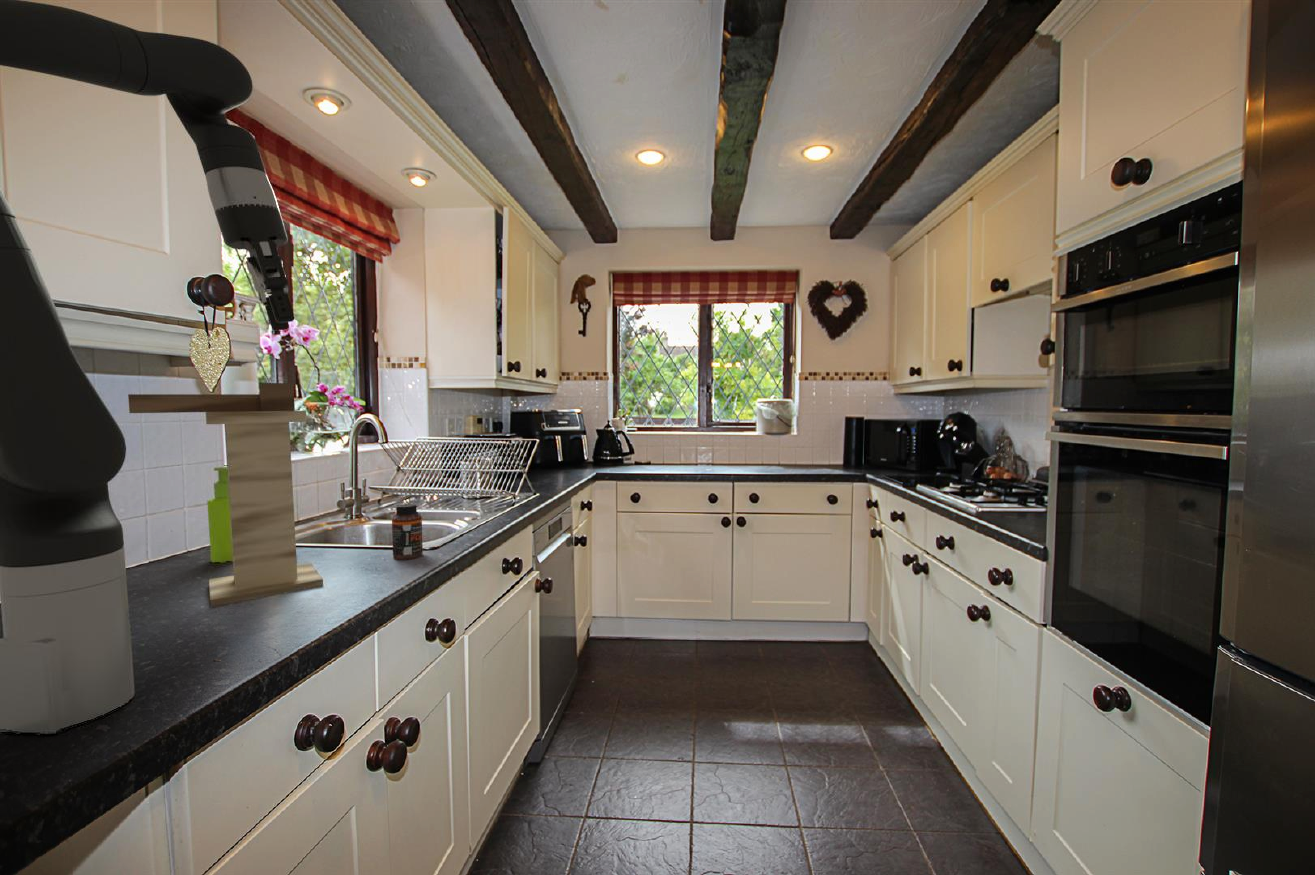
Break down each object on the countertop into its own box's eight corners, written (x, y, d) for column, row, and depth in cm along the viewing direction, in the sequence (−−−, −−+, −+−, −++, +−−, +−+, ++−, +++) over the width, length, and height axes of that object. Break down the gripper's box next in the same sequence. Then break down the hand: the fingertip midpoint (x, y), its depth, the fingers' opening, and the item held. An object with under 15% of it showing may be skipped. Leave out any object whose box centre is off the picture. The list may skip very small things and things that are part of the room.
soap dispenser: (226, 564, 115) (220, 469, 113) (204, 561, 117) (198, 468, 116) (255, 556, 120) (249, 465, 119) (234, 554, 123) (228, 464, 121)
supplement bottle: (415, 560, 116) (413, 507, 116) (387, 560, 116) (385, 507, 116) (427, 552, 122) (425, 502, 121) (401, 552, 122) (399, 502, 122)
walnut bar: (294, 410, 100) (293, 383, 99) (128, 413, 87) (126, 381, 86) (293, 410, 104) (291, 384, 103) (133, 412, 91) (131, 382, 90)
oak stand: (323, 585, 101) (314, 410, 99) (210, 607, 90) (198, 412, 88) (311, 568, 111) (302, 410, 109) (209, 585, 101) (198, 411, 99)
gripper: (282, 193, 73) (319, 315, 76) (275, 223, 85) (307, 328, 87) (213, 193, 69) (254, 323, 72) (215, 224, 80) (250, 335, 83)
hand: (283, 325), depth 80 cm, fingers open, 8 cm apart
